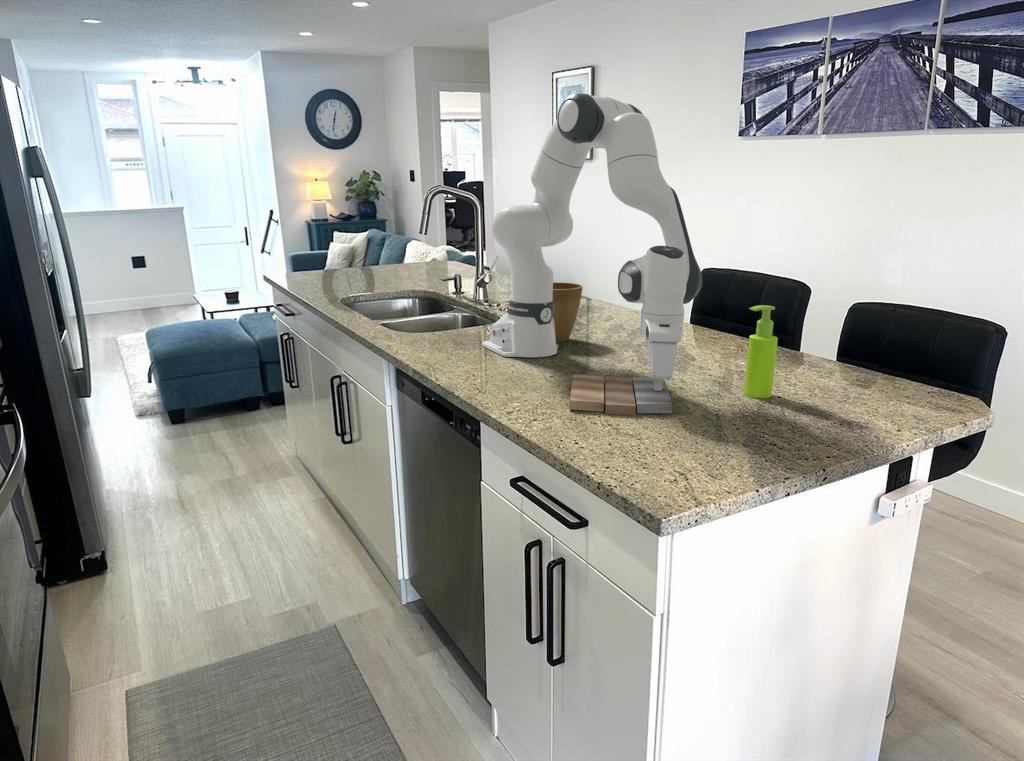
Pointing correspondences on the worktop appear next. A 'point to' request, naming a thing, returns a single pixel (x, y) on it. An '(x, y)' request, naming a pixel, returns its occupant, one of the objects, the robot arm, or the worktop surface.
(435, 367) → the worktop surface
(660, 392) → the grey plank
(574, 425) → the worktop surface
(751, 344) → the soap dispenser
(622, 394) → the walnut strip
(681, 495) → the worktop surface
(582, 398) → the smoked oak plank
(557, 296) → the plant pot
